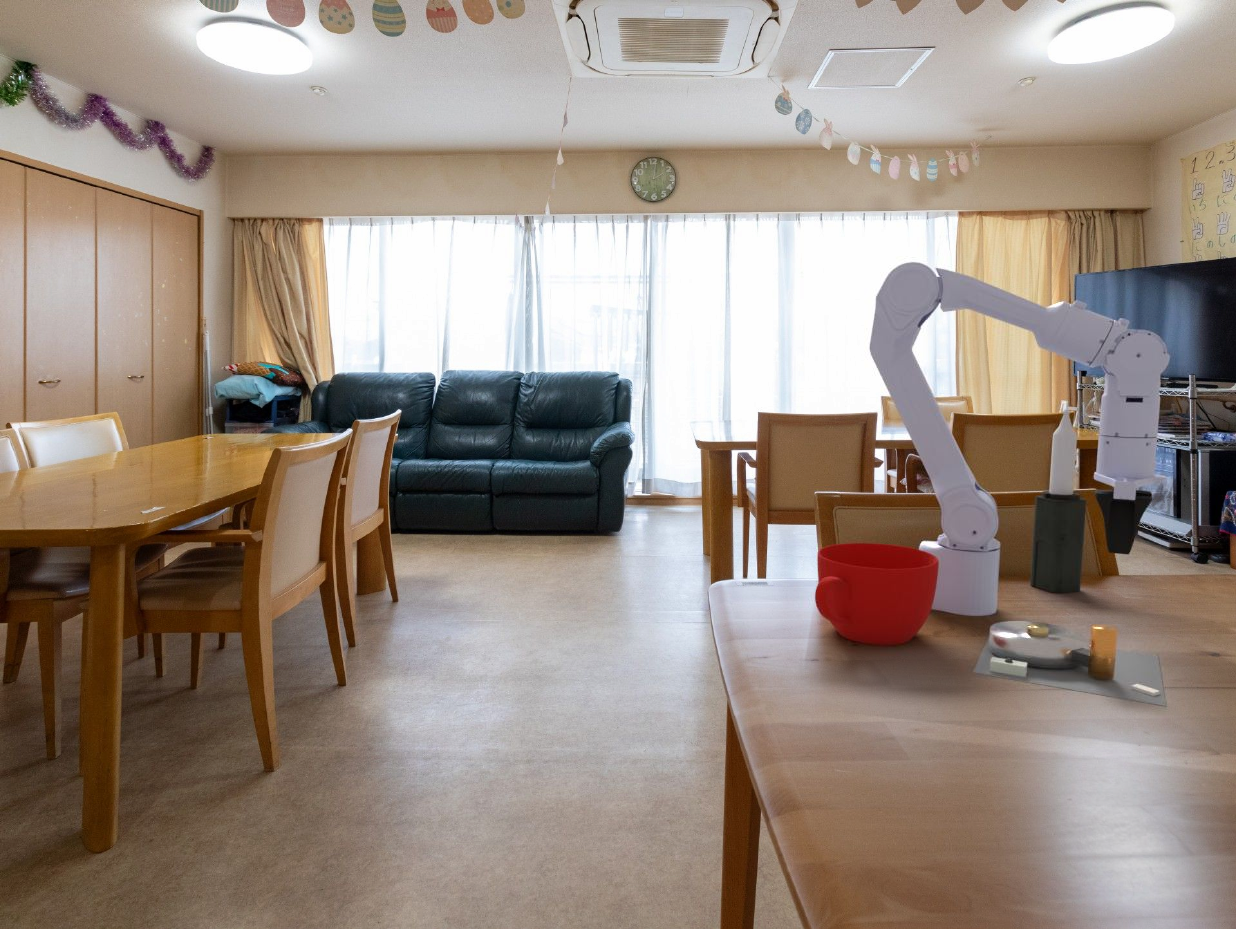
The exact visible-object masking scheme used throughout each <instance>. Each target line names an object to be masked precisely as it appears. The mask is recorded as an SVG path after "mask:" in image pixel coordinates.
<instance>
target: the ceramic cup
mask: <svg viewBox="0 0 1236 929" xmlns="http://www.w3.org/2000/svg"><path fill="white" fill-rule="evenodd" d="M816 557H817V560H816V561H817V579H818V581H817V582H818V584H817V585H816V588H815V591H814V592H815V593H814V603H815V605H816V608H817V610H818V612H819V614H820V615H821V617H823V618H824V619H826V620H827V621H829V622H830V624H831V625H832V626H833V628H834V629H835V630H836V631H837V633H838V634H839V635H840V636H842V637H843V638H846V639H847V640H850V641H853V642H857V643H862V644H866V645H875V646H876V645H877V646H895V645H901V644H905V643H907V642H909V641H910V640H912V639H913V638H914V636H915V635H917V634H918V632H919V631H920V630H921V629H922V628H923V626H924V625H925V623H926V621H927V620H928V618H929V615H930V613H931V611H932V609H931V608H932V605H933V601H934V596H935V591H936V585H937V577H938V567H939V561H938V559H937V557H936V556H934V555H932V554H930V553H928V552H925V551H922V550H919V548H918V549H917V548H913V547H909V546H902V545H895V544H888V543H887V544H886V543H877V542H876V543H873V542H852V543H851V542H850V543H849V542H847V543H839V544H838V543H837V544H831V545H827V546H823V547H821V548H819V550H817V556H816Z"/></svg>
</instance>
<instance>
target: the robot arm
mask: <svg viewBox="0 0 1236 929" xmlns="http://www.w3.org/2000/svg"><path fill="white" fill-rule="evenodd" d="M934 269H935V271H936V273H937V274H938V276H937V275H936V273H935V272H934V270H933V269H932V268H931V267H930V266H928V265H926V264H925V263H921V262H916V261H909V262H904V263H901V264H899V265H897V266H896V267H894V268H893V269H892V270H891V271H890V272H889V273H888V274H887V276H886V278H885V279H884V281H883V282H882V285H881V287H880V289H879V291H878V292H877V294H876V295H875V296H876V297H875V306H874V307H875V309H874V315H873V316H874V317H873V320H872V321H873V322H872V328H871V336H870V342H869V352H870V356H871V357H872V360H873V363H874V364H875V366H876V369H877V370H878V373H879V375H880V376H881V378H882V381H883V383H884V385H885V386H886V389H887V391H888V393H889V396H890V398H891V400H892V402H893V405H895V408H896V410H897V412H898V414H899V417H900V418H901V421H902V422H903V424H904V427H905V428H906V431H907V433H908V435H909V437H910V439H911V441H912V443H913V445H914V447H915V450H916V452H917V454H918V456H919V458H920V460H921V462H922V465H923V466H924V470H926V472H927V474H928V475H927V476H928V477H929V479H930V482H931V485H932V488H933V491H934V494H935V497H936V500H937V501H938V503H939V506H940V509H941V510H940V511H941V520H940V523H941V528H942V532H943V533H942V534H939V535H938V537H937V540H936V541H932V540H923V541H921V543H919V547H918V550H922V551H925V552H928V553H930V554H932V555H934V556H936V557H937V559H938V561H939V567H938V577H937V585H936V591H935V596H934V601H933V605H932V608H931V610H935V611H942V612H945V613H950V614H955V615H960V616H961V615H962V616H971V617H974V616H975V617H976V616H977V617H981V616H991V615H994V614H996V613H997V608H998V606H997V605H998V594H999V592H998V591H999V590H998V588H999V576H1000V575H999V574H1000V572H999V571H1000V557H1001V542H1000V541H999V540H998V539H995V536H996V534H997V533H998V529H999V522H1000V521H999V515H998V506H997V502H996V500H995V498H994V497H993V496H992V494H990V492H988V491H987V490H985V489H984V488H983V487H981V485H979V483H978V481H977V479H976V478H975V475H974V474H973V472H972V471H971V470H972V469H971V468H970V467H969V465H968V463H967V460H965V457H964V456H963V453H962V452H961V449H960V447H959V445H958V443H957V441H956V439H955V437H954V435H953V433H952V429H950V426H949V424H948V422H947V420H946V418H945V416H944V414H943V412H942V410H941V408H940V406H939V403H938V401H937V400H936V397H935V395H934V394H933V392H932V389H931V387H930V384H929V382H928V381H927V378H926V377H925V375H924V373H923V370H922V368H921V366H920V364H919V362H918V360H917V358H916V356H915V354H914V352H913V347H914V345H915V342H916V340H917V338H918V336H919V335H920V334H919V333H920V331H921V329H922V328H921V327H922V326H923V324H925V322H926V321H927V320H928V319H929V318H930V317H931V315H933V313H934V312H935V311H936V310H937V309H938V307H939V305H940V307H939V308H940V309H941V311H942V312H943V313H947V312H955V311H960V310H969V311H972V312H975V313H978V314H981V315H983V316H986V317H989V318H993V319H995V320H998V321H999V322H1000V321H1001V322H1004V323H1005V324H1008V325H1012V326H1015V327H1018V328H1020V329H1023V330H1025V331H1026V330H1027V331H1028V332H1031V333H1032V334H1033V336H1034V339H1035V341H1036V342H1035V343H1036V344H1037V347H1038V348H1039V349H1043V350H1045V351H1048V352H1051V353H1053V354H1056V355H1058V356H1061V357H1063V358H1065V359H1068V360H1071V361H1074V362H1076V363H1079V364H1081V365H1084V366H1086V367H1088V368H1092V369H1093V368H1096V367H1099V366H1101V369H1102V370H1103V372H1104V373H1105V376H1104V385H1103V386H1104V387H1103V394H1102V395H1101V402H1100V416H1099V427H1098V430H1099V432H1098V441H1097V442H1098V443H1097V454H1096V455H1097V456H1096V471H1094V473H1093V479H1094V481H1096V482H1100V483H1101V484H1102V483H1103V484H1105V485H1108V486H1111V487H1112V490H1111V489H1096V490H1095V492H1094V497H1095V499H1096V502H1097V503H1098V505H1099V509H1100V511H1101V514H1102V519H1103V523H1104V532H1105V541H1106V547H1107V551H1108V553H1110V554H1118V555H1119V554H1120V555H1130V553H1131V551H1132V548H1133V546H1134V542H1135V538H1136V535H1137V532H1138V527H1139V524H1140V522H1141V519H1142V517H1143V515H1144V514H1145V512H1146V510H1147V509H1148V508H1149V506H1150V505H1151V503H1152V501H1153V493H1152V492H1151V491H1150V490H1149V491H1148V490H1142V489H1141V490H1139V488H1143V487H1145V486H1151V485H1155V484H1166V483H1167V476H1166V475H1162V474H1155V468H1156V456H1157V444H1158V443H1157V442H1158V430H1159V420H1160V405H1161V396H1160V388H1161V385H1162V383H1161V374H1162V373H1164V371H1165V370H1166V368H1167V367H1168V365H1169V363H1170V359H1171V355H1170V354H1169V353H1168V348H1167V345H1166V342H1165V341H1163V339H1162V338H1161V336H1159V335H1158V333H1157V334H1156V333H1155V332H1153V331H1150V330H1147V329H1135V328H1131V329H1130V328H1128V327H1129V325H1130V320H1129V319H1125V318H1123V317H1121V318H1119V319H1118V320H1115V319H1113V318H1111V317H1109V316H1108V317H1107V316H1105V315H1102V314H1101V313H1100V314H1099V313H1096V312H1093V311H1092V310H1088V309H1086V307H1087V306H1088V304H1087V303H1086V302H1083V301H1080V300H1078V299H1077V300H1074V301H1073V303H1072V304H1071V303H1070V302H1067V301H1064V300H1063V301H1059V302H1057V303H1054V304H1052V305H1049V306H1043V305H1041V304H1039V303H1036V302H1034V301H1031V300H1029V299H1026V298H1024V297H1021V296H1020V295H1016V294H1014V293H1011V292H1009V291H1007V290H1005V289H1002V288H999V287H997V286H995V285H992V284H989V283H988V282H985V281H983V280H980V279H978V278H975V277H973V276H970V275H967V274H964V273H959V272H956V271H954V270H948V269H945V268H939V267H935V268H934Z"/></svg>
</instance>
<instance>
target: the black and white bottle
mask: <svg viewBox="0 0 1236 929" xmlns="http://www.w3.org/2000/svg"><path fill="white" fill-rule="evenodd" d="M1062 414H1063V415H1062V418H1061V420H1060V423H1059V425H1058V427H1057V428H1056V429H1055V431H1054V432H1053V433H1052V443H1051V444H1052V446H1051V458H1050V459H1051V460H1050V472H1049V474H1050V476H1049V490H1043V491H1042V493H1041V494H1042V495H1036V496H1035V498H1034V499H1035V501H1034V502H1035V503H1034V519H1033V532H1032V533H1033V534H1032V552H1031V564H1030V579H1029V580H1030V581H1029V583H1030V584H1029V585H1030V586H1031V587H1034V588H1037V589H1041V590H1043V591H1046V592H1049V593H1054V594H1063V593H1064V594H1065V593H1075V592H1080V591H1081V583H1082V582H1081V580H1082V568H1083V557H1084V556H1083V555H1084V554H1083V552H1084V543H1085V542H1084V538H1085V523H1086V510H1087V499H1085V498H1083V497H1081V494H1080V493H1078V492H1074V488H1075V487H1074V486H1075V470H1076V459H1077V458H1076V456H1077V442H1078V434H1077V432H1076V430H1075V429H1074V428H1073V425H1072V422H1071V421H1072V420H1071V418H1070V414H1071V411H1070V410H1069V409H1067V408H1065V409H1063V411H1062Z"/></svg>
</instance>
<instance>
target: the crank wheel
mask: <svg viewBox="0 0 1236 929" xmlns="http://www.w3.org/2000/svg"><path fill="white" fill-rule="evenodd" d="M989 635H990V636H989ZM989 635H988V637H989V649H990V650H991V651H992V652H993V653H994V654H996V655H997V656H999V657H1001V658H1004V659H1007V658H1010V659H1011V660H1014V661H1020V662H1026V663H1027V665H1029V666H1035V667H1043V668H1072V667H1077V666H1080V665H1082V666H1085V667H1088V674H1089V675H1090V676H1093V677H1096V678H1100V679H1113V678H1114V671H1115V658H1116V649H1117V643H1118V628H1117V627H1114V626H1111V625H1107V624H1098V623H1097V624H1092V625H1091V626H1090V638H1089V639H1090V640H1089V645H1090V650H1088V649H1086V645H1088V644H1087V638H1086V637H1085V636H1084V635H1082V633H1079V632H1076V631H1075V630H1073V629H1070V628H1066V627H1063V626H1060V625H1055V624H1051V623H1046V622H1045V623H1044V622H1037V621H1028V620H1006V621H1000V622H996V623H993V624H992V625H990V626H989Z"/></svg>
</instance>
